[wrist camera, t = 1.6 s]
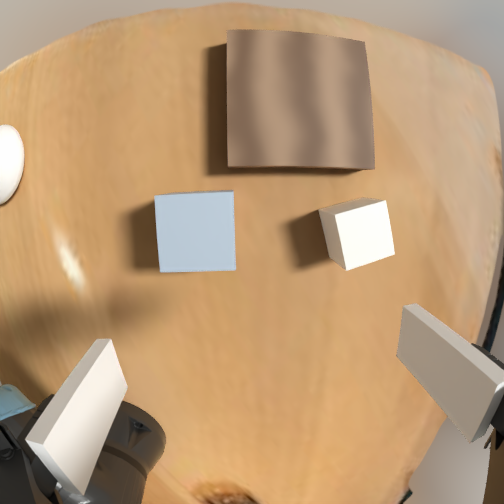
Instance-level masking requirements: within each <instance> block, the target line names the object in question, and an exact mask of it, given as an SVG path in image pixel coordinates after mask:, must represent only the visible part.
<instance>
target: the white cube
mask: <svg viewBox="0 0 504 504" xmlns="http://www.w3.org/2000/svg"><path fill="white" fill-rule="evenodd" d="M318 211H319V215H320V219H321V223H322V227H323V231H324V236H325V240H326V245H327V249H328V254H329V257H330V258H331V259H332V260H334V261H335V262H336V263H337V264H339V265H340V266H341V267H342V268H344V269H345V270H346V271H347V270H350V269H353V268H356V267H359V266H362V265H365V264H368V263H371V262H374V261H377V260H380V259H383V258H385V257H388V256H391V255H394V254H395V253H394V246H393V239H392V233H391V227H390V221H389V215H388V210H387V205H386V200H379V199H372V198H365V197H362V198H358V199H354V200H351V201H347V202H343V203H340V204H336V205H332V206H329V207H325V208H322V209H318Z"/></svg>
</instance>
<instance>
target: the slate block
mask: <svg viewBox="0 0 504 504" xmlns="http://www.w3.org/2000/svg"><path fill="white" fill-rule="evenodd" d="M155 214H156V230H157V243H158V255H159V265H160V272H193V271H226V270H236V262H235V230H234V193H233V190H217V191H194V192H176V193H168V194H162V195H156V196H155Z"/></svg>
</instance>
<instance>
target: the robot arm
mask: <svg viewBox="0 0 504 504" xmlns="http://www.w3.org/2000/svg"><path fill="white" fill-rule="evenodd" d="M396 356H397V357H398V358H399V360H400V361H401V362H402V363H403V364H404V365H405V366H406V368H407V369H408V370H409V371H410V372H411V373H412V375H413V376H414V377H415V378H416V379H417V380H418V381H419V383H420V384H421V385H422V386H423V387H424V388H425V390H426V391H427V392H428V393H429V394H430V396H431V397H432V398H433V399H434V400H435V401H436V403H437V404H438V405H439V406H440V407H441V409H442V410H443V411H444V412H445V413H446V415H447V416H448V417H449V418H450V419H451V421H452V422H453V423H454V424H455V425H456V427H457V428H458V429H459V430H460V432H461V433H462V434H463V435H464V437H465V438H466V439H467V440H468V442H469V443H471V442H473V441H475V440H477V439H478V438H480V437H482V436H483V435H484V434H485V432H486V431H487V428H488V427H489V425H490V423H491V425H492V426H493V427H494V429H493V431H492V433H491V435H490V437H489V439H488V440H487V442H486V443H485V446H484V448H485V449H486V448H487V446H488V444H489V443H490V442H491V447H490V460H489V468H488V476H487V483H486V489H485V494H484V500H483V504H504V364H503V363H502V362H501V361H499V360H497V358H495V357H494V356H493V355H491V354H490V353H489V352H488V351H487V350H485V349H484V348H483V347H480V346H477V345H475V344H473V343H472V344H470V343H469V342H467V341H466V340H465V339H464V338H462V337H461V336H460V335H458V334H457V333H456V332H454V331H453V330H452V329H450V328H449V327H448V326H446V325H445V324H444V323H442V322H441V321H440V320H438V319H437V318H436V317H434V316H433V315H432V314H430V313H429V312H428V311H426V310H425V309H423V308H422V307H421V306H419V305H418V304H417V303H415V304H410V305H406V306H403V311H402V320H401V328H400V335H399V342H398V349H397V355H396ZM127 389H128V387H127V384H126V381H125V378H124V376H123V373H122V370H121V367H120V364H119V362H118V359H117V356H116V353H115V350H114V346H113V343H112V340H111V339H96V341H95V342H94V343H93V344H92V346H91V347H90V348H89V350H88V351H87V352H86V353H85V355H84V356H83V357H82V359H81V360H80V361H79V363H78V364H77V365H76V367H75V368H74V369H73V371H72V372H71V373H70V375H69V376H68V378H67V379H66V380H65V382H64V383H63V384H62V386H61V387H60V389H59V390H58V391H57V393H56V394H55V395H53V394H52V395H50V396H49V397H48V398H46V399H45V400H44V401H42V403H41V404H40V406H39V407H38V408H37V407H36V404H35V403H32V402H31V401H30V400H29V399H28V398H27V397H26V396H25V395H24V394H23V393H22V392H21V391H20V390H19V389H18V388H17V387H15V386H14V385H11V384H4V385H2V386H0V504H141V503H142V498H143V493H144V489H145V484H146V479H147V475H148V473H149V472H150V471H151V470H152V468H153V467H154V466H155V464H156V463H157V462H158V460H159V459H160V458H161V456H162V454H163V452H164V448H165V444H166V436H165V433H164V431H163V429H162V427H161V426H160V425H159V423H158V422H157V421H156V420H155V419H154V418H153V417H151V416H150V415H149V414H148V413H146V412H145V411H143V410H141V409H140V408H138V407H136V406H134V405H132V404H129V403H126V402H123V401H122V400H123V398H124V395H125V393H126V391H127Z"/></svg>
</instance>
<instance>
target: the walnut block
mask: <svg viewBox="0 0 504 504" xmlns="http://www.w3.org/2000/svg"><path fill="white" fill-rule="evenodd" d="M227 148H228V168H257V167H291V168H330V169H351V170H372V169H375V155H374V129H373V113H372V100H371V89H370V79H369V71H368V63H367V55H366V48H365V42H362V41H357V40H352V39H346V38H340V37H334V36H327V35H320V34H311V33H302V32H291V31H275V30H227Z"/></svg>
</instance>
